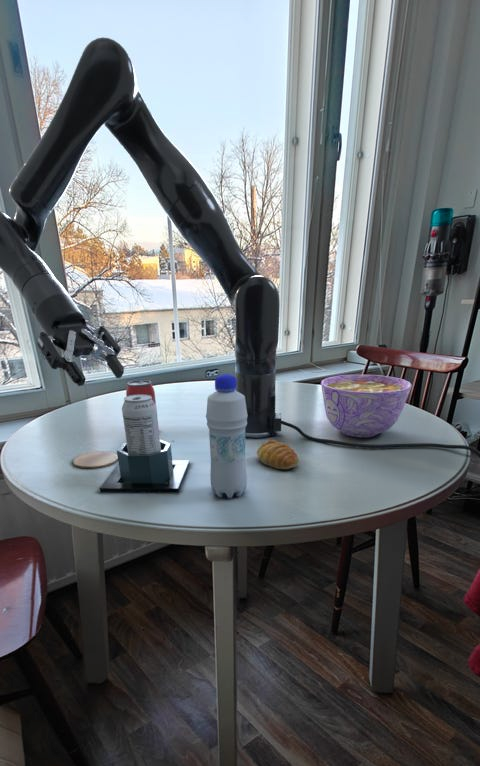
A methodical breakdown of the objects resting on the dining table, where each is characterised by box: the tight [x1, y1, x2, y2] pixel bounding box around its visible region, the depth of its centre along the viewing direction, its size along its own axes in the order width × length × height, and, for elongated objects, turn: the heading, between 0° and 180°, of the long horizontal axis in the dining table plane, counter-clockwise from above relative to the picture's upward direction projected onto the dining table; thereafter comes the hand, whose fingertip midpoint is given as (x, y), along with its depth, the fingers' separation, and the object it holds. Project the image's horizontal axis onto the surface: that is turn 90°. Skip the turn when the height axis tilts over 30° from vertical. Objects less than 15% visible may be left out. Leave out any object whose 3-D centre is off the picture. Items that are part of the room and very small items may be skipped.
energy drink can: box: [121, 394, 161, 454], centre depth 83 cm, size 6×6×15 cm
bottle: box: [205, 373, 248, 499], centre depth 75 cm, size 7×7×20 cm
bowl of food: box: [320, 374, 413, 438], centre depth 106 cm, size 20×20×12 cm
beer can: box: [125, 379, 157, 406], centre depth 109 cm, size 7×7×12 cm
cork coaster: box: [73, 451, 118, 469], centre depth 95 cm, size 9×9×1 cm
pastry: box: [256, 439, 300, 470], centre depth 91 cm, size 9×7×4 cm
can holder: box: [99, 439, 190, 494], centre depth 85 cm, size 14×14×6 cm
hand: (102, 379), depth 84 cm, fingers open, 8 cm apart
